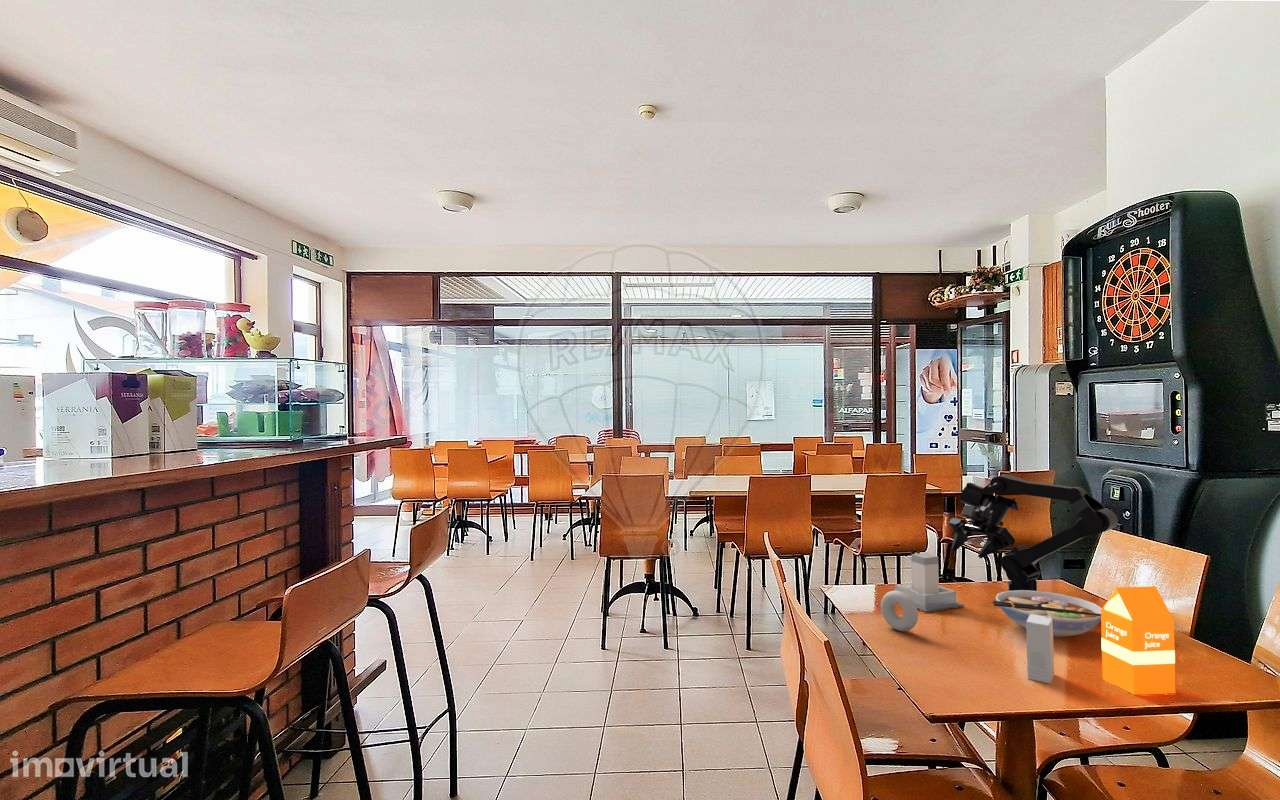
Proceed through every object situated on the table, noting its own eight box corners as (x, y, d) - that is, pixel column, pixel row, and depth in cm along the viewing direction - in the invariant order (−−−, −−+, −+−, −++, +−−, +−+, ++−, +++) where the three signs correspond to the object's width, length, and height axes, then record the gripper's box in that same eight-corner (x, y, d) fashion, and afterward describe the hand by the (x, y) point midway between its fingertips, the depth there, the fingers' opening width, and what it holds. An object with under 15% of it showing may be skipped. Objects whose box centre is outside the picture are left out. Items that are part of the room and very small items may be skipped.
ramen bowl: (1097, 625, 158) (1097, 593, 158) (1124, 658, 138) (1123, 621, 138) (987, 612, 169) (986, 582, 169) (996, 641, 148) (995, 607, 148)
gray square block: (925, 597, 181) (925, 552, 181) (939, 602, 176) (938, 556, 176) (912, 598, 179) (911, 554, 179) (925, 603, 175) (924, 558, 175)
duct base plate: (925, 593, 187) (925, 591, 187) (963, 606, 174) (963, 604, 174) (888, 598, 182) (888, 596, 182) (925, 612, 169) (925, 610, 169)
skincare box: (1030, 669, 132) (1029, 613, 132) (1054, 674, 130) (1053, 617, 130) (1026, 678, 128) (1025, 621, 128) (1051, 684, 125) (1050, 625, 125)
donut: (878, 625, 159) (877, 587, 159) (886, 623, 161) (885, 585, 161) (912, 638, 151) (912, 597, 151) (921, 635, 152) (920, 594, 153)
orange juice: (1101, 678, 127) (1099, 582, 128) (1141, 677, 128) (1139, 580, 128) (1134, 696, 120) (1132, 593, 120) (1176, 694, 120) (1174, 592, 120)
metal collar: (925, 592, 185) (925, 581, 185) (956, 603, 174) (956, 591, 174) (895, 597, 181) (895, 585, 181) (925, 608, 170) (925, 596, 170)
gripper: (952, 491, 190) (925, 529, 187) (1006, 499, 173) (978, 542, 169) (972, 515, 193) (945, 553, 189) (1027, 525, 175) (999, 568, 172)
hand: (965, 553), depth 180 cm, fingers open, 9 cm apart
